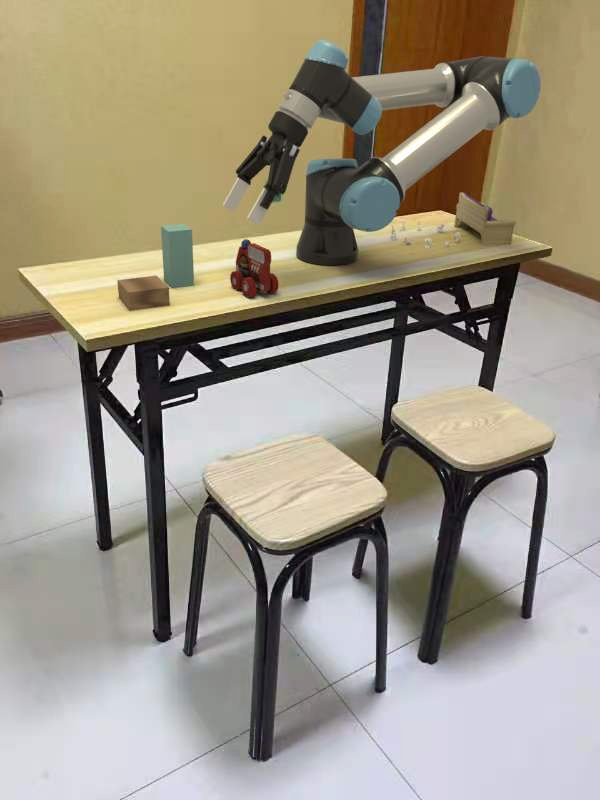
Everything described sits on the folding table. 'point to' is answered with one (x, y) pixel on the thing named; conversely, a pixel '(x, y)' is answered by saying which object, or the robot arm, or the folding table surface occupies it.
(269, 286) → the toy fire truck
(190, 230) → the pillar
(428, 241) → the game piece set
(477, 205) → the toy sofa
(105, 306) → the folding table surface
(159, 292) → the slab
